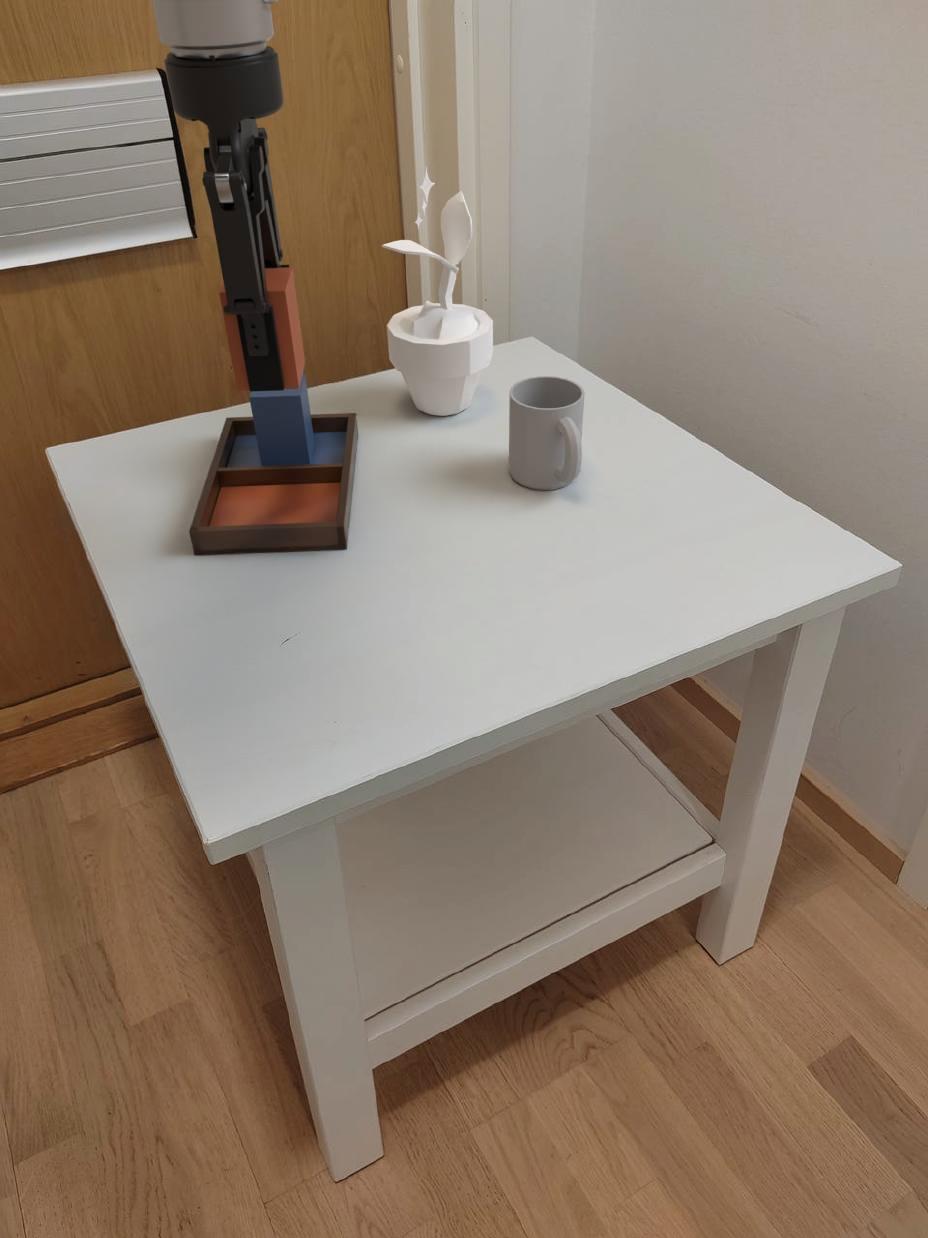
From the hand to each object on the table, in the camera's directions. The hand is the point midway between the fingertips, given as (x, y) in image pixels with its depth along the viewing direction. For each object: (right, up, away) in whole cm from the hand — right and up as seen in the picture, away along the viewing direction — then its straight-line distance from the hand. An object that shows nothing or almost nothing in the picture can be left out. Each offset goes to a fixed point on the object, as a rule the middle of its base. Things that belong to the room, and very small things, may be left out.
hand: (271, 372), depth 78 cm
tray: (-2, -7, +18) cm, 19 cm away
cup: (+25, -6, +18) cm, 31 cm away
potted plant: (+13, +4, +31) cm, 34 cm away
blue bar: (-3, -3, +21) cm, 22 cm away
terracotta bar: (0, 0, 0) cm, 0 cm away
